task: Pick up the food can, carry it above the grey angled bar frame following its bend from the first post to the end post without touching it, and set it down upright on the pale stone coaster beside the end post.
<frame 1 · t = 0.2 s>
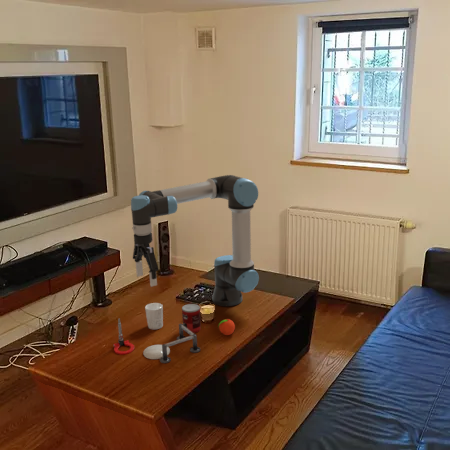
hand: (146, 280, 234), 27 cm above the table, tool pointing down, fingers open, 13 cm apart
coaster: (156, 352, 229), on the table
canned food: (192, 330, 248), on the table
white cup: (155, 326, 252), on the table
grey angled bar frame: (181, 339, 240), on the table
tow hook: (124, 349, 233), on the table
clementine: (226, 334, 242), on the table
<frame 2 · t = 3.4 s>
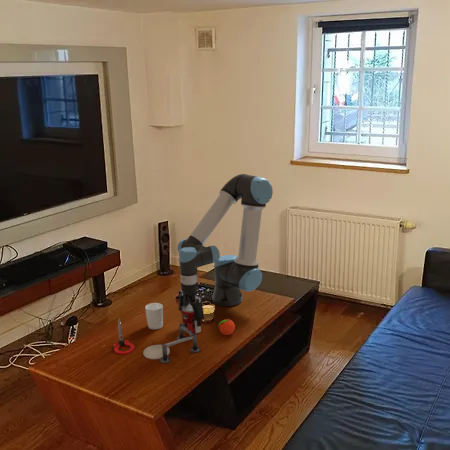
hand: (192, 329, 248), 0 cm above the table, tool pointing down, fingers closed on canned food, 8 cm apart
canned food: (192, 330, 248), on the table, touching gripper
everything else where it was.
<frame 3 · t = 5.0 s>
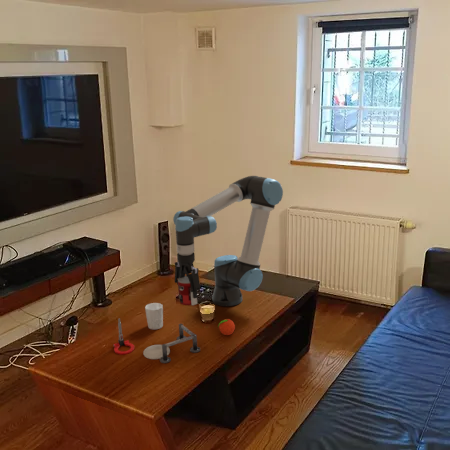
hand: (188, 301, 242), 15 cm above the table, tool pointing down, fingers closed on canned food, 8 cm apart
canned food: (188, 302, 243), point 14 cm above the table, touching gripper
everything else where it was.
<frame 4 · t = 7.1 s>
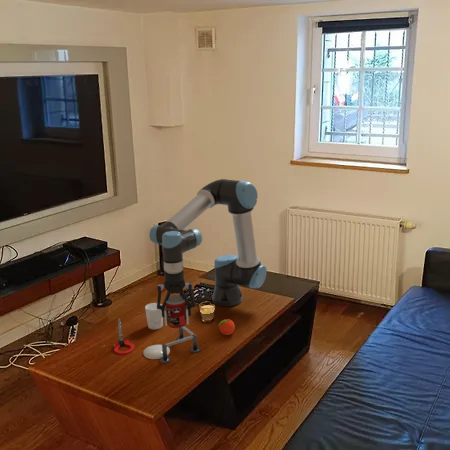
hand: (177, 323, 222), 15 cm above the table, tool pointing down, fingers closed on canned food, 8 cm apart
canned food: (177, 324, 222), point 14 cm above the table, touching gripper
everything else where it was.
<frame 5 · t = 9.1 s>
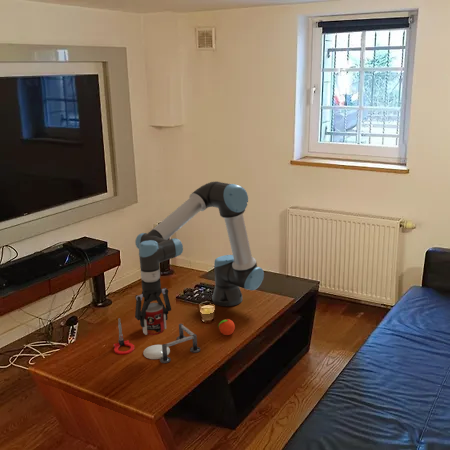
hand: (154, 330, 226), 10 cm above the table, tool pointing down, fingers closed on canned food, 8 cm apart
canned food: (154, 331, 227), point 10 cm above the table, touching gripper
everything else where it was.
when the fingers open (2 cm above the table, at t = 10.9 s): canned food drops 1 cm, resting on coaster.
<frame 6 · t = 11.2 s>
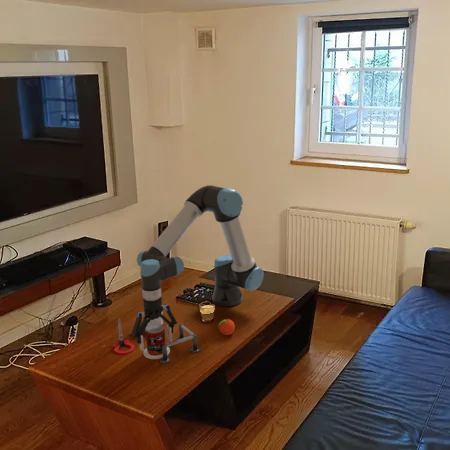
hand: (156, 345, 228), 3 cm above the table, tool pointing down, fingers open, 12 cm apart
canned food: (156, 351, 229), resting on coaster
everything else where it was.
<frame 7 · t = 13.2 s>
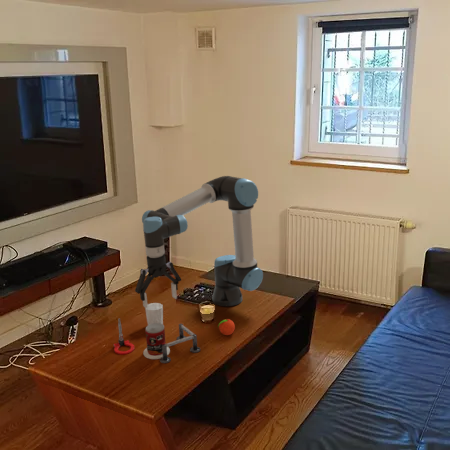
hand: (160, 302, 230), 20 cm above the table, tool pointing down, fingers open, 13 cm apart
nothing on the table moved.
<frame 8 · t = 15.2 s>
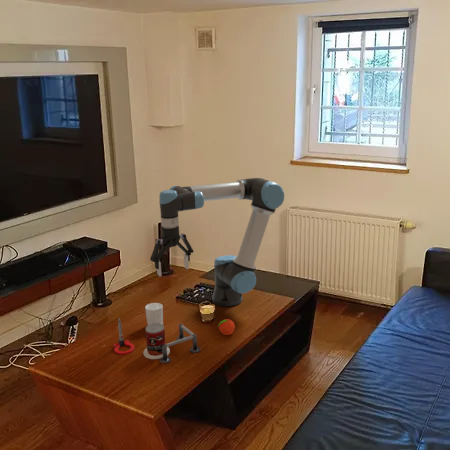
hand: (173, 271, 244), 27 cm above the table, tool pointing down, fingers open, 13 cm apart
nothing on the table moved.
at the end: canned food inside the target area on the coaster (0.0 cm from its centre), point 0.4 cm above the coaster's base; canned food tilted 0°; canned food touching coaster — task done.
